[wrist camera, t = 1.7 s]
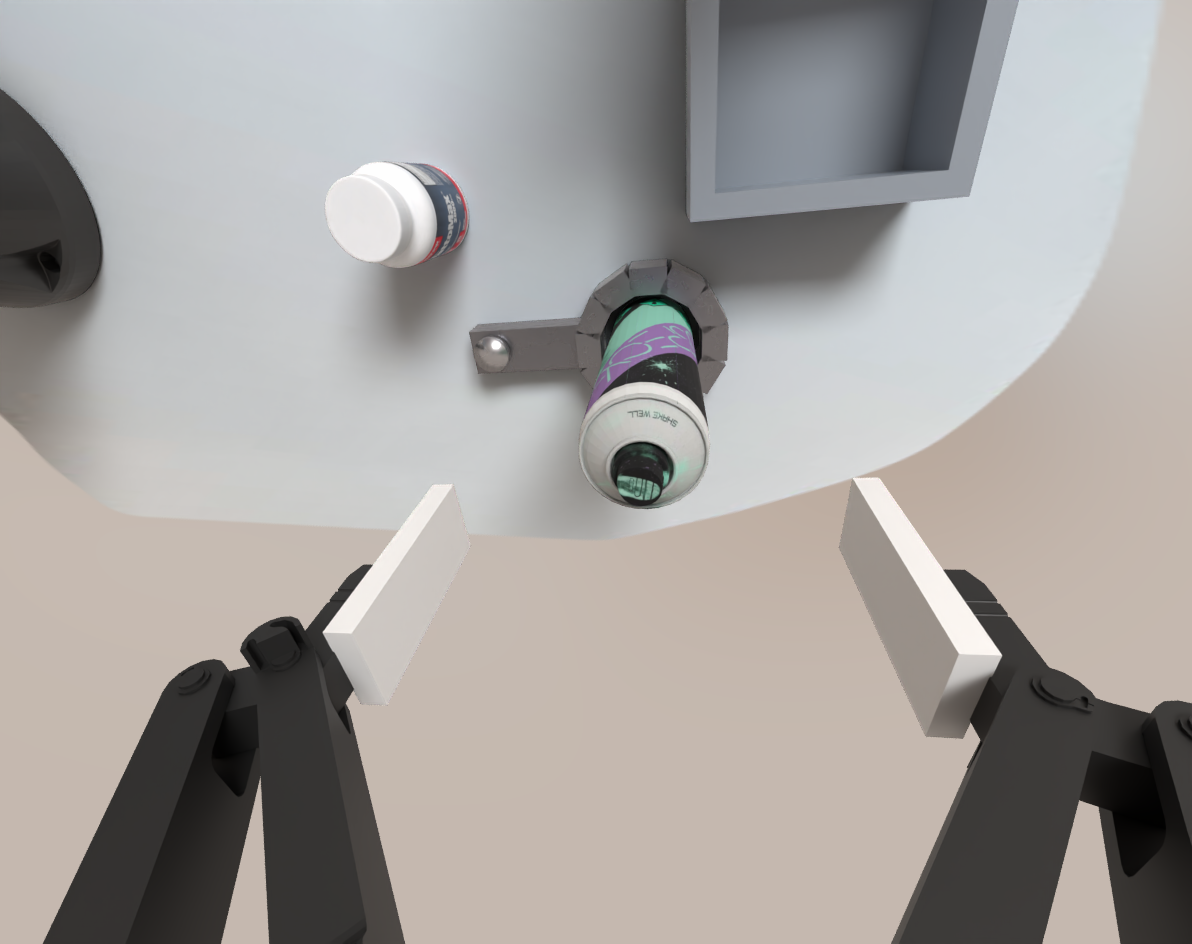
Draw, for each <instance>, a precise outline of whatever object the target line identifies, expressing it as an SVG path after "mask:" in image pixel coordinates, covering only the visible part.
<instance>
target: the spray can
mask: <svg viewBox="0 0 1192 944" xmlns="http://www.w3.org/2000/svg"><path fill="white" fill-rule="evenodd" d="M709 449H710V438H709V430H708V424H707V418H706V412H705V406H704V401H703V395H702V389H701V383H700V377H699V372H698V366H697V360H696V354H695V348H694V342H693V337H692V331H691V325H690V322H689V319H688V317H687V315H686V313H685V311H684V310H683V309H682V308H681V307H680V305H679V304H677V303H676V302H675V301H673V300H672V299H669V298H667V297H665V296H660V295H646V296H641V297H639V298H636V299H634V300H633V301H631V302H630V303H628V304H627V305H626V306H625V307H624V308H623V309H622V311H621V312H620V314H619V315H618V317H617V319H616V321H615V324H614V326H613V330H612V333H611V336H610V339H609V342H608V345H607V348H606V351H605V354H604V358H603V361H602V364H601V367H600V370H599V373H598V376H597V379H596V382H595V385H594V389H593V392H592V395H591V398H590V401H589V404H588V407H587V410H586V413H585V417H584V420H583V423H582V426H581V430H580V436H579V460H580V464H581V468H582V470H583V472H584V474H585V476H586V478H587V480H588V481H589V482H590V484H591V485H592V486H593V488H594V489H596V490H597V491H598V492H599V493H600V494H601V495H602V496H604V497H606V498H607V499H609V500H611V501H612V502H615V503H617V504H620V505H622V506H626V507H631V508H637V509H652V508H659V507H663V506H667V505H670V504H672V503H674V502H677V501H679V500H681V499H682V498H684V497H685V496H686V495H688V494H689V493H690V492H691V491H692V490H693V489H694V488H695V487H696V486H697V485H698V484H699V482H700V481H701V479H702V477H703V476H704V473H705V471H706V468H707V465H708V458H709Z"/></svg>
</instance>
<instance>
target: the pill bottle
mask: <svg viewBox="0 0 1192 944" xmlns="http://www.w3.org/2000/svg"><path fill="white" fill-rule="evenodd" d="M325 216H326V221H327V224H328V227H329V229H330V232H331V233H332V236H333V237H334V239H335V240H336V242H337V243H338V244H339V245H340V247H341V248H342V249H343V250H344V251H346V252H347V253H348V254H350V255H351V256H353V257H354V258H356V259H358V260H361V261H364V262H369V263H380V264H382V265H385V266H388V267H393V268H405V267H410V266H414V265H417V264H420V263H422V262H425V261H428V260H430V259H433V258H436V257H438V256H441V255H444V254H447V253H449V252H451V251H453V250H454V249H455V248H457V247H458V246H459V245H460V243H461V242H462V241H463V239H464V237H465V235H466V233H467V229H468V224H469V210H468V205H467V201H466V198H465V196H464V194H463V192H462V190H461V188H460V186H459V185H458V184H457V182H456V181H455V180H454V179H453V178H452V177H451V176H450V175H449V174H448V173H446V172H445V171H443V170H442V169H440V168H438V167H435V166H432V165H428V164H417V163H399V162H374V163H369V164H366V165H363V166H362V167H360V168H358V169H357V170H356V171H355V172H354V173H353V174H352V175H351V176H346V177H343V178H341V179H339V180H338V181H336V182H335V183H334V184H333V185H332V186H331V188H330V189H329V191H328V194H327V197H326V201H325Z"/></svg>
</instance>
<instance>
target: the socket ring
mask: <svg viewBox="0 0 1192 944" xmlns="http://www.w3.org/2000/svg"><path fill="white" fill-rule="evenodd" d="M657 294H664V295H666V296H668V297H670V298H672V299H674V300H676V301H678V302H680V303H681V304H683V305H685V306H687V307H689V309H690V311H691V312H692V314H693V316H694V317H695V319H696V321H697V322H698V324H699V345H698V347H697V349H696V351H695V354H696V360H697V366H698V372H699V377H700V383H701V389H702V395H703V393H706V394H708V392H709V390H710V389H711V387H712V386H713V384H714V382H715V381H716V379H717V378H718V376H719V375H720V373H721V371H722V370H723V368H724V367H725V362H724V361H726V360H727V349H728V323H727V318H726V316H725V313H724V311H723V309H722V307H721V305H720V303H719V302H718V300H717V298H716V296H715V295H714V293H713V291H712V289H711V287H710V286H709V284H708V282H707V280H706V279H705V280H704V279H703V276H702V275H700V274H698V273H696V272H694V271H692V270H690V269H689V268H687V267H685V266H683V265H681V264H679V263H677V262H675V261H673V260H671V261H670V263H669V265H668V267H667V259H655V260H643V261H631V264H630V267H629V266H628V264H627V263H626V264H625V265H624V266H622V267H621V268H620V269H618V270H617V271H616V272H614V273H613V274H611V275H610V276H609V277H607V278H606V279H605V280H603V281H602V282H600V283H599V284H598V286H597V288H595V290H594V291H593V293H592V295H591V296H590V299H589V301H588V303H587V305H586V308H585V310H584V312H583V315H582V317H581V318H568V319H553V320H538V321H523V322H509V323H494V324H479V325H477V326H476V327H475V328H473V329H472V330H471V331H470V332H469V334H470V339H471V343H472V348H473V352H474V358H475V361H476V366H477V370H478V374H480V373H499V372H518V371H537V370H556V369H575V368H582V371H581V373H582V375H583V376H584V378H585V379H586V380H587V382H588V383H589V384H590V386H591V387H592V389H594V385H595V382H596V379H597V376H598V373H599V370H600V367H601V364H602V361H603V358H604V354H605V351H606V339H605V325H606V322H607V320H608V318H609V316H610V314H611V312H612V311H614V310H615V309H617V308H618V307H620V306H621V305H622V304H624V303H625V302H627V301H628V300H630V299H631V298H633V297H634V296H644V295H657ZM703 398H704V397H703Z"/></svg>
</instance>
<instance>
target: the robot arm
mask: <svg viewBox="0 0 1192 944" xmlns="http://www.w3.org/2000/svg"><path fill="white" fill-rule="evenodd" d="M99 262H100V240H99V233H98V228H97V224H96V220H95V217H94V214H93V211H92V208H91V205H90V203H89V200H88V198H87V196H86V193H85V191H84V189H83V187H82V185H81V183H80V181H79V179H78V178H77V176H76V174H75V172H74V170H73V169H72V167H71V166H70V164H69V163H68V161H67V159H66V158H65V157H64V155H63V154H62V152H61V151H60V149H59V148H58V147H57V145H56V144H55V143H54V141H53V140H52V139H51V138H50V137H49V135H48V134H47V133H46V132H45V131H44V129H43V128H42V127H41V126H40V125H39V124H38V123H37V122H36V121H35V120H34V119H33V118H32V116H31V115H30V114H29V113H27V112H26V111H25V110H24V109H23V108H22V107H21V106H20V105H19V104H18V103H17V102H16V101H14V100H13V99H12V98H11V97H10V96H9V95H7V94H6V93H5V92H4V91H2V90H1V89H0V307H13V308H31V307H40V306H44V305H49V304H54V303H58V302H63V301H67V300H71V299H73V298H76V297H78V296H79V295H81V294H82V293H84V292H85V291H86V290H87V289H88V288H89V287H90V285H91V284H92V282H93V281H94V279H95V277H96V274H97V271H98V267H99ZM470 546H471V545H470V541H469V538H468V534H467V530H466V527H465V523H464V520H463V516H462V512H461V509H460V505H459V502H458V498H457V495H456V491H455V488H454V484H443V485H432V487H431V488H430V489H429V491H428V492H427V493H426V495H425V496H424V497H423V499H422V500H421V502H420V503H419V504H418V506H417V507H416V508H415V510H414V511H413V512H412V514H411V515H410V516H409V518H408V519H407V520H406V522H405V523H404V524H403V526H402V527H401V528H400V530H399V531H398V532H397V534H396V535H395V536H394V538H393V539H392V540H391V542H390V543H389V544H388V546H387V547H386V549H385V550H384V551H383V552H382V554H381V555H380V556H379V558H378V559H377V560H376V562H375V563H374V564H373V565H362V566H361V567H360V568H359V569H357V570H356V571H354V572H353V573H352V574H350V575H349V576H348V577H347V578H346V580H345V581H344V582H343V584H342V585H341V586H340V587H339V589H338V592H335V594H334V595H333V596H332V597H331V599H330V602H329V603H327V604H326V605H325V606H324V608H323V609H322V610H321V611H320V613H319V614H318V615H317V617H316V618H315V619H314V621H313V622H312V623H311V624H310V625H309V627H308V628H307V629H306V630H304V628H303V626H302V625H301V623H300V621H299V620H298V619H297V618H294V617H280V618H276V619H274V620H270V621H268V622H266V623H264V624H263V625H261V626H259V627H258V628H256V629H255V630H254V631H253V632H251V633H250V634H249V635H248V636H247V638H246V639H245V640H244V642H243V643H242V646H241V650H240V652H241V653H242V654H243V656H244V657H245V659H246V660H247V662H248V663H249V665H250V667H246V668H242V669H237V670H233V671H229V670H228V669H227V667H226V666H225V665H224V663H223V662H222V661H220V660H215V659H213V660H206V661H202V662H199V663H197V664H195V665H192V666H190V667H188V668H187V669H185V670H184V671H182V672H181V673H179V674H178V675H177V676H176V677H175V678H173V679H172V680H171V681H170V682H169V684H168V685H167V686H166V688H165V689H164V691H163V692H162V695H161V697H160V699H159V701H158V703H157V705H156V707H155V709H154V711H153V713H152V715H151V718H150V720H149V722H148V724H147V726H146V728H145V730H144V732H143V734H142V736H141V739H140V741H139V743H138V745H137V747H136V749H135V751H134V753H133V755H132V757H131V760H130V762H129V764H128V766H127V768H126V770H125V772H124V774H123V776H122V778H121V781H120V783H119V785H118V787H117V789H116V791H115V793H114V795H113V798H112V799H111V802H110V804H109V806H108V808H107V810H106V812H105V814H104V816H103V818H102V820H101V823H100V825H99V827H98V829H97V831H96V833H95V836H94V837H93V840H92V841H91V844H90V846H89V848H88V850H87V852H86V854H85V856H84V858H83V861H82V863H81V865H80V867H79V869H78V871H77V873H76V875H75V877H74V879H73V881H72V883H71V886H70V888H69V890H68V892H67V894H66V896H65V898H64V900H63V902H62V905H61V907H60V909H59V911H58V913H57V915H56V917H55V919H54V921H53V923H52V925H51V928H50V930H49V932H48V934H47V936H46V938H45V940H44V942H43V944H221V940H222V937H223V933H224V928H225V924H226V919H227V915H228V911H229V907H230V903H231V899H232V894H233V890H234V886H235V882H236V878H237V873H238V869H239V865H240V860H241V856H242V852H243V848H244V844H245V839H246V835H247V831H248V827H249V822H250V818H251V814H252V809H253V805H254V801H255V797H256V793H257V789H258V784H259V780H260V776H261V790H262V809H263V810H262V811H263V831H264V850H265V869H266V890H267V909H268V929H269V944H405V941H404V937H403V933H402V929H401V924H400V920H399V916H398V912H397V908H396V903H395V899H394V895H393V891H392V887H391V882H390V878H389V874H388V870H387V866H386V861H385V857H384V853H383V849H382V845H381V841H380V836H379V832H378V828H377V824H376V820H375V815H374V811H373V807H372V803H371V799H370V794H369V790H368V786H367V782H366V778H365V773H364V769H363V766H362V761H361V757H360V753H359V749H358V744H357V740H356V736H355V732H354V728H353V723H352V719H351V715H350V711H349V709H348V707H347V705H346V701H347V700H348V698H349V696H350V695H351V693H352V692H353V691H354V692H355V694H356V696H357V698H358V700H359V702H360V704H368V705H385V706H387V705H388V703H389V701H390V699H391V697H392V695H393V694H394V691H395V690H396V688H397V686H398V684H399V682H400V680H401V678H402V676H403V674H404V673H405V671H406V669H407V667H408V665H409V663H410V661H411V659H412V657H413V655H414V653H415V652H416V649H417V648H418V646H419V644H420V642H421V640H422V638H423V636H424V634H425V633H426V630H427V628H428V627H429V625H430V623H431V621H432V619H433V617H434V615H435V613H436V611H437V610H438V607H439V606H440V604H441V602H442V600H443V598H444V596H445V594H446V592H447V591H448V589H449V587H450V585H451V583H452V581H453V579H454V577H455V575H456V573H457V571H458V570H459V568H460V566H461V564H462V562H463V560H464V558H465V556H466V554H467V552H468V550H469V549H470ZM839 548H840V551H841V553H842V555H843V557H844V559H845V562H846V564H847V566H848V568H849V570H850V573H851V575H852V577H853V579H854V581H855V583H856V585H857V588H858V590H859V592H860V595H861V597H862V599H863V601H864V603H865V605H866V608H867V610H868V612H869V614H870V616H871V619H872V621H873V623H874V625H875V627H876V629H877V632H878V634H879V636H880V638H881V640H882V643H883V645H884V647H885V649H886V651H887V653H888V656H889V658H890V660H891V662H892V664H893V667H894V669H895V671H896V673H897V675H898V677H899V679H900V682H901V684H902V686H903V688H904V691H905V693H906V695H907V697H908V699H909V702H910V704H911V706H912V708H913V710H914V712H915V714H916V717H917V719H918V721H919V723H920V726H921V728H922V730H923V732H924V734H925V736H926V737H944V738H961V739H963V737H964V735H965V733H966V731H967V729H968V727H969V725H970V723H971V724H972V725H973V727H974V729H975V731H976V733H977V734H978V736H979V738H980V740H981V741H980V743H979V745H978V747H977V749H976V751H975V752H974V755H973V756H972V759H971V760H970V762H969V764H968V766H967V768H968V769H967V772H966V774H965V776H964V778H963V781H962V783H961V785H960V788H959V790H958V792H957V794H956V797H955V799H954V801H953V804H952V806H951V808H950V811H949V813H948V815H947V817H946V820H945V822H944V824H943V826H942V829H941V831H940V833H939V836H938V838H937V840H936V842H935V845H934V847H933V849H932V851H931V854H930V856H929V859H928V861H927V863H926V865H925V867H924V870H923V872H922V874H921V877H920V879H919V881H918V884H917V886H916V888H915V890H914V893H913V895H912V897H911V899H910V902H909V904H908V907H907V909H906V911H905V913H904V915H903V918H902V920H901V923H900V925H899V927H898V929H897V932H896V934H895V936H894V938H893V941H892V943H891V944H1042V942H1043V938H1044V934H1045V931H1046V927H1047V923H1048V919H1049V915H1050V911H1051V907H1052V903H1053V899H1054V895H1055V892H1056V888H1057V884H1058V880H1059V876H1060V872H1061V868H1062V864H1063V861H1064V857H1065V853H1066V849H1067V845H1068V841H1069V837H1070V833H1071V829H1072V826H1073V822H1074V818H1075V814H1076V810H1077V806H1078V802H1079V800H1080V801H1083V802H1086V803H1089V804H1092V805H1095V806H1098V807H1099V813H1100V819H1101V825H1102V831H1103V837H1104V844H1105V849H1106V856H1107V863H1108V869H1109V875H1110V881H1111V887H1112V894H1113V900H1114V906H1115V912H1116V919H1117V925H1118V931H1119V937H1120V943H1121V944H1192V703H1187V702H1182V701H1164V702H1162V703H1161V704H1159V705H1158V706H1156V707H1155V709H1154V710H1153V711H1152V713H1151V714H1150V713H1146V712H1142V711H1139V710H1135V709H1131V708H1128V707H1124V706H1120V705H1116V704H1112V703H1109V702H1106V701H1103V700H1100V699H1097V698H1095V696H1094V695H1093V693H1092V692H1091V691H1090V690H1088V689H1087V688H1086V687H1085V686H1084V685H1082V684H1081V683H1080V682H1079V681H1078V680H1076V679H1074V678H1072V677H1070V676H1069V675H1067V674H1065V673H1063V672H1060V671H1058V670H1055V669H1052V668H1049V667H1048V666H1047V665H1046V663H1045V662H1044V660H1043V659H1042V658H1041V657H1040V655H1039V654H1038V653H1037V652H1036V650H1035V649H1034V647H1033V646H1032V645H1031V644H1030V642H1029V641H1028V640H1027V639H1026V637H1025V636H1024V634H1023V633H1022V632H1021V631H1020V629H1019V628H1018V627H1017V625H1016V624H1015V623H1014V622H1013V620H1012V619H1011V618H1010V617H1008V615H1007V612H1006V611H1005V610H1004V609H1003V607H1002V606H1001V605H1000V604H998V603H997V599H996V598H995V597H994V596H993V594H992V593H991V592H990V591H989V589H988V588H987V586H986V585H985V584H984V583H982V582H981V581H980V580H978V579H977V578H975V577H974V576H973V575H971V574H970V573H969V572H967V571H966V570H943V569H942V568H941V566H940V565H939V564H938V562H937V561H936V559H935V558H934V556H933V555H932V553H931V552H930V551H929V549H928V548H927V546H926V545H925V543H924V542H923V541H922V539H921V538H920V536H919V535H918V533H917V532H916V530H915V529H914V527H913V526H912V525H911V523H910V522H909V520H908V519H907V517H906V516H905V515H904V513H903V512H902V510H901V509H900V507H899V506H898V504H897V503H896V502H895V500H894V499H893V497H892V496H891V495H890V493H889V491H888V490H887V489H886V487H885V486H884V484H883V483H882V481H881V480H880V478H852V484H851V488H850V494H849V499H848V504H847V509H846V514H845V519H844V524H843V529H842V534H841V540H840V545H839Z"/></svg>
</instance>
